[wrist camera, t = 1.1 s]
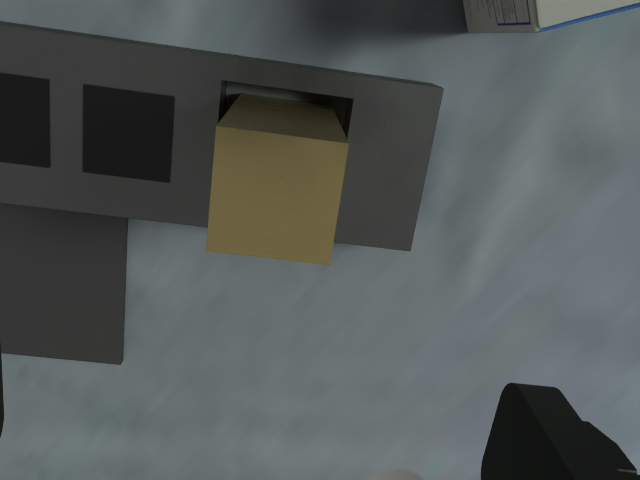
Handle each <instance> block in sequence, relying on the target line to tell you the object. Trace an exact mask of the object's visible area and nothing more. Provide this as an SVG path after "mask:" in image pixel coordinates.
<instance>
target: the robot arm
mask: <svg viewBox="0 0 640 480" xmlns="http://www.w3.org/2000/svg"><path fill="white" fill-rule="evenodd" d="M3 421H4V404H3V382H2V360H1V342H0V437H1V433H2V428H3ZM481 480H640V475H637V470H636V468H635V467H634V466H633V464H632V463H631V462H630V460H629V459H628V458H627V457H626V455H625V454H624V453H623V451H622V450H621V449H620V447H619V446H618V445H617V444H616V443H615V442H613V441H612V440H611V439H610V438H608V437H607V436H606V435H605V434H603V433H602V432H601V431H599V430H598V429H597V428H596V427H594V426H593V425H592V424H591V423H589V422H586V421H582V420H581V419H580V417H579V416H578V415H577V413H576V412H575V410H574V409H573V408H572V406H571V405H570V404H569V402H568V401H567V399H566V398H565V397H564V395H563V394H562V393H561V391H560V390H559V389H557V388H555V387H547V386H537V385H527V384H517V383H509V384H507V385H506V386H505V388H504V389H503V391H502V393H501V396H500V400H499V403H498V407H497V410H496V414H495V417H494V421H493V424H492V428H491V431H490V435H489V438H488V442H487V446H486V449H485V453H484V456H483V460H482V466H481Z"/></svg>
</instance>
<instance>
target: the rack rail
mask: <svg viewBox="0 0 640 480" xmlns="http://www.w3.org/2000/svg"><path fill="white" fill-rule="evenodd" d="M227 81H232V82H239V83H246V84H253V85H260V86H267V87H274V88H282V89H289V90H296V91H303V92H310V93H317V94H324V95H331V96H339V97H346V98H348V103H347V109H346V116H345V122H344V129H343V132H344V134H345V136H346V138H347V140H348V143H349V147H348V153H347V159H346V166H345V172H344V178H343V185H342V191H341V197H340V204H339V210H338V216H337V223H336V229H335V235H334V242H336V243H344V244H353V245H361V246H370V247H378V248H386V249H395V250H403V251H411V246H412V241H413V236H414V231H415V226H416V221H417V216H418V212H419V207H420V202H421V197H422V192H423V187H424V182H425V178H426V173H427V168H428V163H429V158H430V153H431V148H432V143H433V139H434V134H435V129H436V124H437V119H438V114H439V109H440V104H441V100H442V95H443V90H444V88H441V87H439V86H437V85H434V84H432V83H426V82H419V81H412V80H405V79H398V78H391V77H384V76H377V75H370V74H363V73H356V72H349V71H343V70H336V69H329V68H322V67H315V66H308V65H301V64H294V63H287V62H280V61H273V60H266V59H259V58H252V57H245V56H238V55H231V54H224V53H218V52H211V51H204V50H197V49H190V48H183V47H176V46H169V45H162V44H155V43H148V42H141V41H134V40H127V39H120V38H113V37H106V36H100V35H93V34H86V33H79V32H72V31H65V30H58V29H51V28H44V27H37V26H30V25H23V24H16V23H9V22H2V21H0V203H8V204H16V205H25V206H33V207H42V208H50V209H59V210H67V211H75V212H84V213H92V214H101V215H109V216H117V217H126V218H134V219H143V220H151V221H159V222H168V223H176V224H185V225H193V226H201V227H208V220H209V208H210V195H211V183H212V171H213V159H214V147H215V134H216V125H217V124H218V123H219V122H220V120H221V119H222V118H223V116H224V109H225V97H226V86H227Z"/></svg>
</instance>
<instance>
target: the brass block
mask: <svg viewBox="0 0 640 480" xmlns="http://www.w3.org/2000/svg"><path fill="white" fill-rule="evenodd" d="M348 147H349V143H348V140H347V138H346V136H345V134H344V132H343V129H342V127H341V125H340V123H339V121H338V118H337V116H336V114H335V112H334V110H333V107H332V106H330V105H323V104H315V103H308V102H301V101H294V100H287V99H279V98H272V97H265V96H258V95H251V94H243V93H241V94H240V96H239V97H238V98H237V100H236V101H235V102H234V103H233V105H232V106H231V107H230V109H229V110H228V111H227V113H226V114H225V115H224V116H223V118H222V119H221V120H220V122H219V123H218V124H217V125H216V134H215V147H214V159H213V171H212V183H211V195H210V208H209V220H208V232H207V244H206V251H212V252H221V253H229V254H238V255H247V256H255V257H264V258H272V259H281V260H290V261H298V262H307V263H316V264H324V265H330V261H331V254H332V248H333V242H334V235H335V229H336V223H337V216H338V210H339V204H340V197H341V191H342V185H343V178H344V172H345V166H346V159H347V153H348Z"/></svg>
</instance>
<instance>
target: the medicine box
mask: <svg viewBox="0 0 640 480" xmlns="http://www.w3.org/2000/svg"><path fill="white" fill-rule="evenodd" d="M463 4H464V11H465V17H466V23H467V29H468V32H469V33H537V32H542V31H546V30H550V29H555V28H558V27H562V26H566V25H570V24H574V23H578V22H582V21H586V20H590V19H593V18H597V17H601V16H605V15H609V14H613V13H617V12H621V11H625V10H629V9H633V8H637V7H640V0H463Z"/></svg>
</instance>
